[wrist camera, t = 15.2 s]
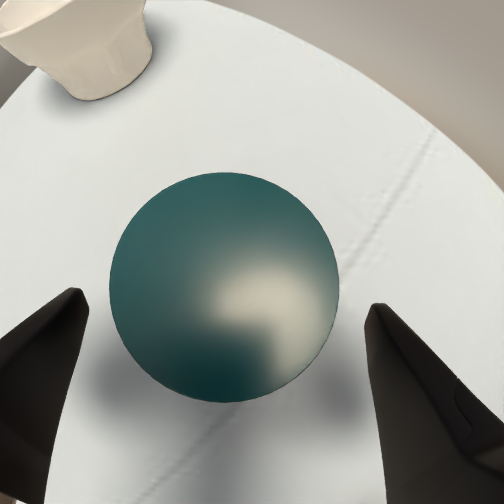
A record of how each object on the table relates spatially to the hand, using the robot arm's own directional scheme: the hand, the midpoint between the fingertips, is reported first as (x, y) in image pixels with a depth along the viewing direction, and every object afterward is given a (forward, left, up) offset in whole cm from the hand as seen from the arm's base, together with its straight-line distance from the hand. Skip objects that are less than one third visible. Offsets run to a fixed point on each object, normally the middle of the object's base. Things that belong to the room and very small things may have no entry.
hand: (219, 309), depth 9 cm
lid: (+1, 0, 0) cm, 1 cm away
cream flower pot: (+10, +21, -10) cm, 25 cm away
